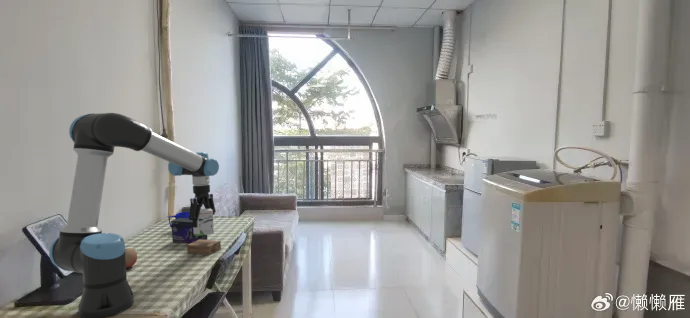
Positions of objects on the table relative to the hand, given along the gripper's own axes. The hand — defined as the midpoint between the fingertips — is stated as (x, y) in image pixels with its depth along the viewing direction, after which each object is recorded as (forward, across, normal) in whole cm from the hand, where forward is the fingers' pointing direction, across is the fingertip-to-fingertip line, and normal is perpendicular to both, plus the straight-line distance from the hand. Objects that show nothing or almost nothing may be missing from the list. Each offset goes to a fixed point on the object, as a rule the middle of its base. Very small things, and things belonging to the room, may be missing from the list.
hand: (203, 230), depth 170 cm
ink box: (+2, 0, 0) cm, 2 cm away
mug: (+10, +29, +38) cm, 49 cm away
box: (+10, +11, +17) cm, 23 cm away
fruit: (+10, -26, +19) cm, 34 cm away
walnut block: (+10, 0, 0) cm, 10 cm away
